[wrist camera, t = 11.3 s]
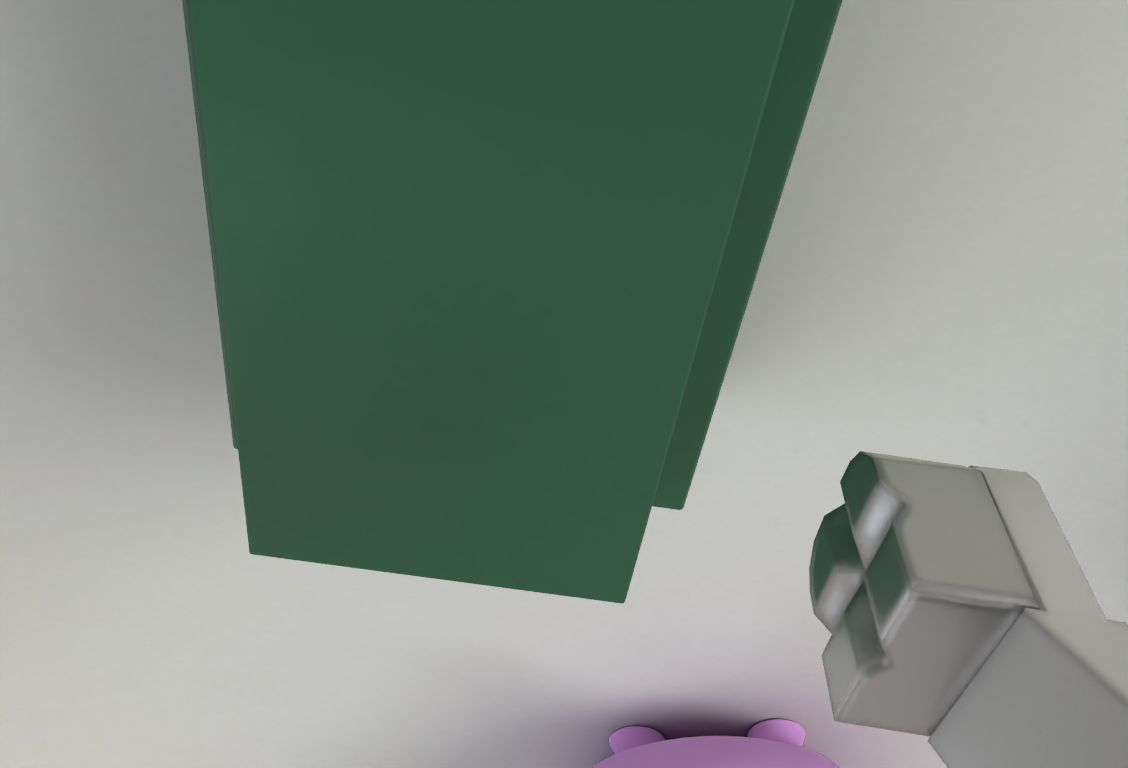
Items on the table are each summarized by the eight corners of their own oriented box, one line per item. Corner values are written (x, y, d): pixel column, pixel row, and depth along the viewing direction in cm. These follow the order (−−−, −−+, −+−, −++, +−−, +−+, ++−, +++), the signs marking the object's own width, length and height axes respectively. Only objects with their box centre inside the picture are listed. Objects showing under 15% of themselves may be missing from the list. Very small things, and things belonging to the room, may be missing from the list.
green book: (234, -449, 10) (132, -482, 8) (839, -340, 10) (893, -344, 8) (291, 456, 18) (248, 555, 16) (624, 501, 18) (624, 604, 16)
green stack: (233, -490, 12) (97, -546, 9) (880, -371, 13) (966, -388, 10) (284, 344, 21) (223, 463, 18) (670, 399, 21) (678, 525, 18)
